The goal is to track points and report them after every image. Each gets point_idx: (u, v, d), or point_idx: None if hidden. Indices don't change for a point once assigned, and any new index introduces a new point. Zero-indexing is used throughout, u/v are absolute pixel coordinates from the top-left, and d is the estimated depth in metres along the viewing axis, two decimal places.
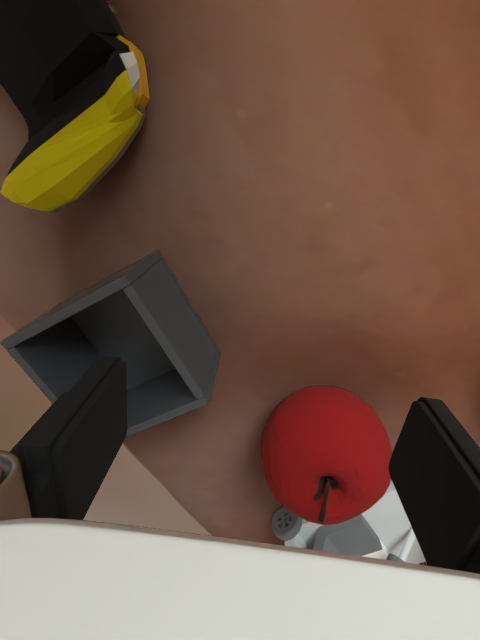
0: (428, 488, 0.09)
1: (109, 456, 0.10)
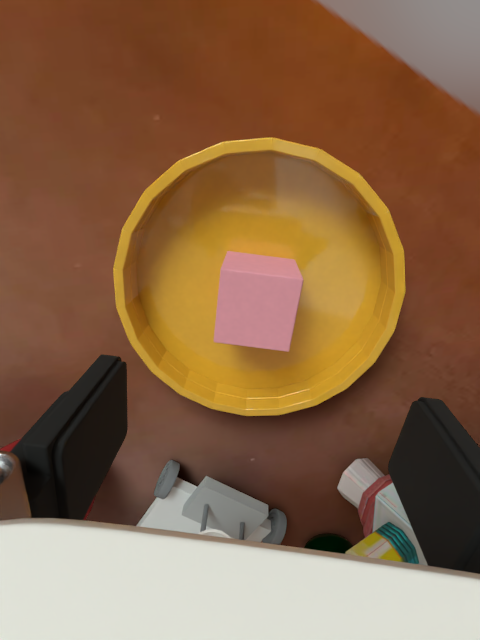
0: (428, 488, 0.09)
1: (109, 456, 0.10)
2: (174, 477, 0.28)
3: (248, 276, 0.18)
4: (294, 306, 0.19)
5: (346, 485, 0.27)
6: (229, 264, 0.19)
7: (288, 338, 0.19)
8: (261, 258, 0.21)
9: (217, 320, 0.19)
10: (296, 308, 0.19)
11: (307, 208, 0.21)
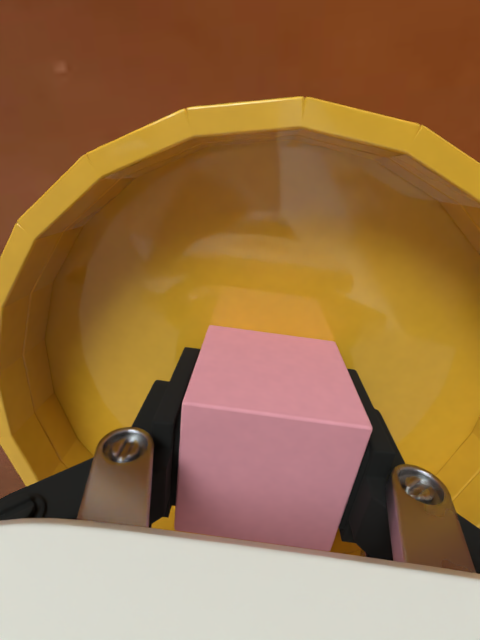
0: None
1: None
2: None
3: (245, 419, 0.08)
4: (348, 477, 0.08)
5: None
6: (206, 378, 0.09)
7: (330, 531, 0.09)
8: (273, 345, 0.11)
9: (179, 495, 0.09)
10: (351, 482, 0.08)
11: (364, 250, 0.11)
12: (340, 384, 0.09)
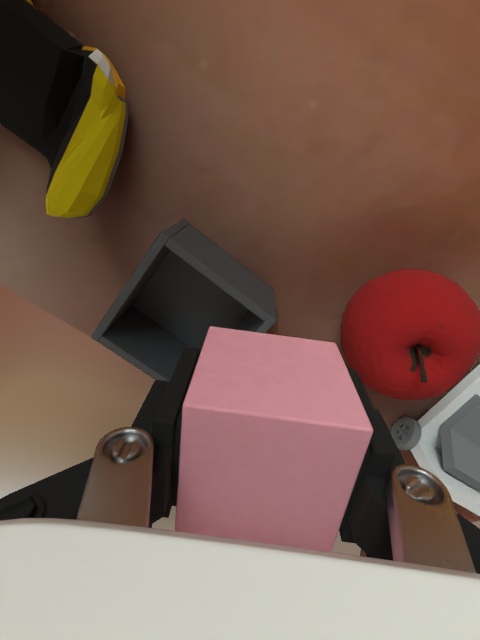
0: None
1: None
2: None
3: (245, 421, 0.08)
4: (348, 479, 0.08)
5: None
6: (207, 380, 0.09)
7: (331, 532, 0.09)
8: (273, 346, 0.11)
9: (180, 497, 0.09)
10: (352, 483, 0.08)
11: None
12: (341, 386, 0.09)
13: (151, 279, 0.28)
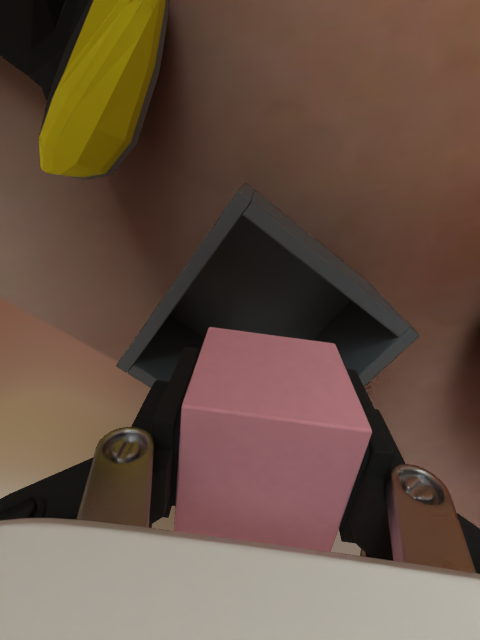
0: None
1: None
2: None
3: (244, 423, 0.08)
4: (347, 480, 0.08)
5: None
6: (205, 381, 0.09)
7: (330, 533, 0.09)
8: (272, 347, 0.11)
9: (179, 498, 0.09)
10: (351, 484, 0.08)
11: None
12: (340, 386, 0.09)
13: None
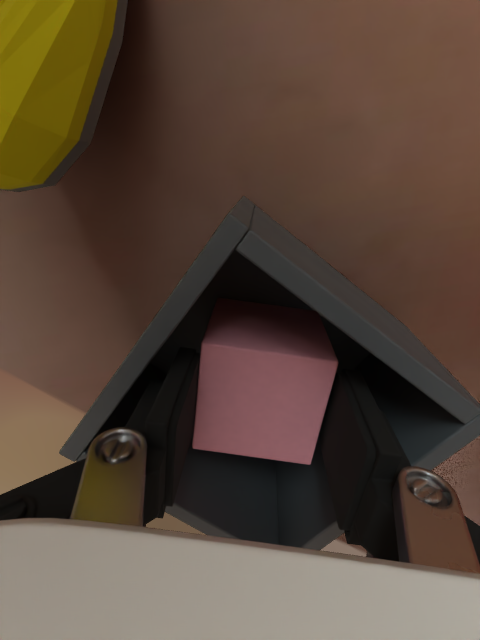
0: (339, 447, 0.10)
1: (188, 439, 0.11)
2: None
3: (246, 356, 0.11)
4: (322, 402, 0.11)
5: None
6: (218, 330, 0.12)
7: (310, 447, 0.12)
8: (268, 312, 0.14)
9: (197, 418, 0.12)
10: (324, 405, 0.11)
11: None
12: (318, 337, 0.12)
13: None
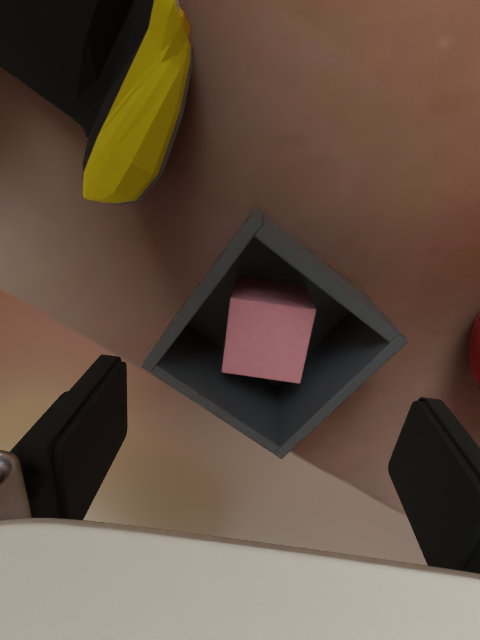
0: (428, 488, 0.09)
1: (109, 456, 0.10)
2: None
3: (258, 306, 0.17)
4: (306, 337, 0.18)
5: None
6: (239, 292, 0.18)
7: (299, 370, 0.19)
8: (272, 285, 0.21)
9: (226, 350, 0.18)
10: (308, 339, 0.18)
11: None
12: (304, 298, 0.19)
13: None
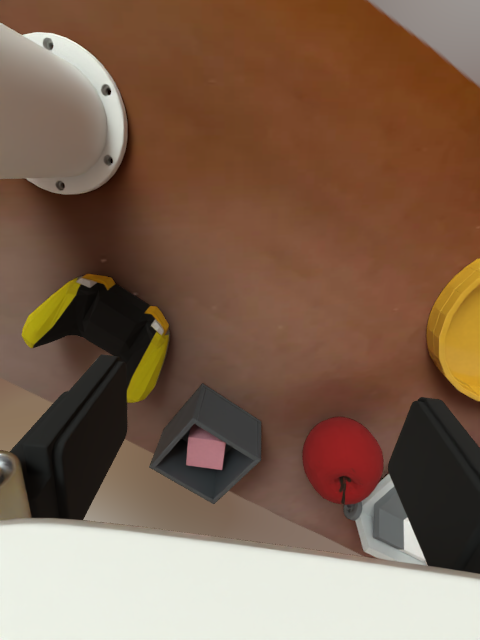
0: (428, 488, 0.09)
1: (109, 456, 0.10)
2: None
3: (200, 440, 0.39)
4: (222, 452, 0.40)
5: None
6: (193, 431, 0.40)
7: (221, 464, 0.41)
8: None
9: (187, 456, 0.41)
10: (223, 453, 0.40)
11: None
12: None
13: None
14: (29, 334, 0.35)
